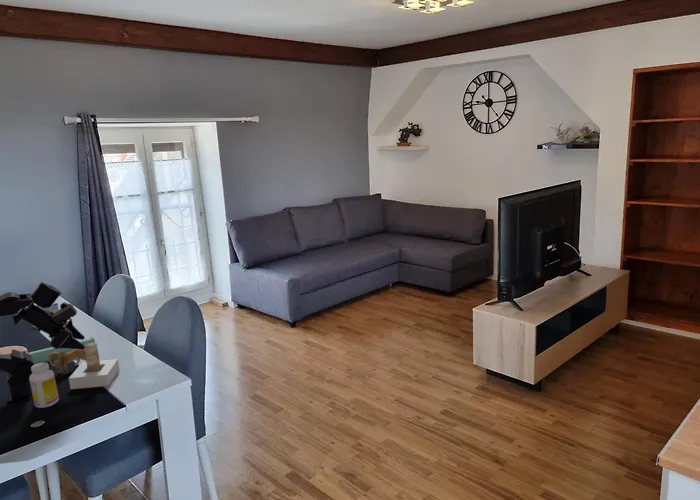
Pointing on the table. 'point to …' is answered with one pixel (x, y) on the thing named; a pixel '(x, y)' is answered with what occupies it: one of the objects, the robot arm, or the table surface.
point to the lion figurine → (66, 358)
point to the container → (43, 354)
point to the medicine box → (51, 308)
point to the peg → (92, 357)
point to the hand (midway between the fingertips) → (84, 343)
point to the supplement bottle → (43, 385)
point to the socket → (94, 375)
